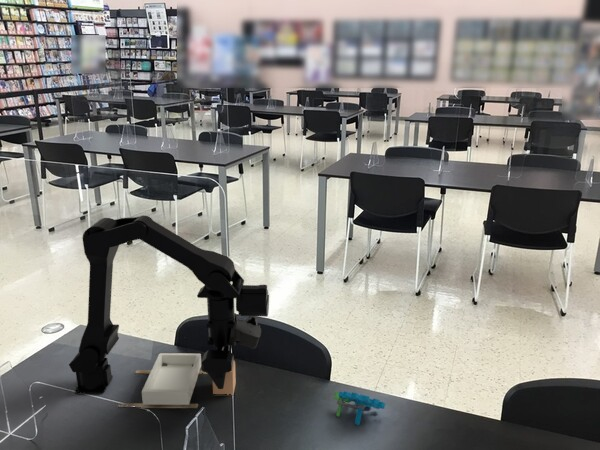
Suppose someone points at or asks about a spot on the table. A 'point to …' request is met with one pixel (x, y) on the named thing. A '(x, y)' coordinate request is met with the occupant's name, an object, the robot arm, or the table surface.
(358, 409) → the toy construction assembly
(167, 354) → the white open storage bin
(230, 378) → the part block
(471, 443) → the table surface
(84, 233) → the robot arm
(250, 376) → the table surface
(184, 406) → the track
